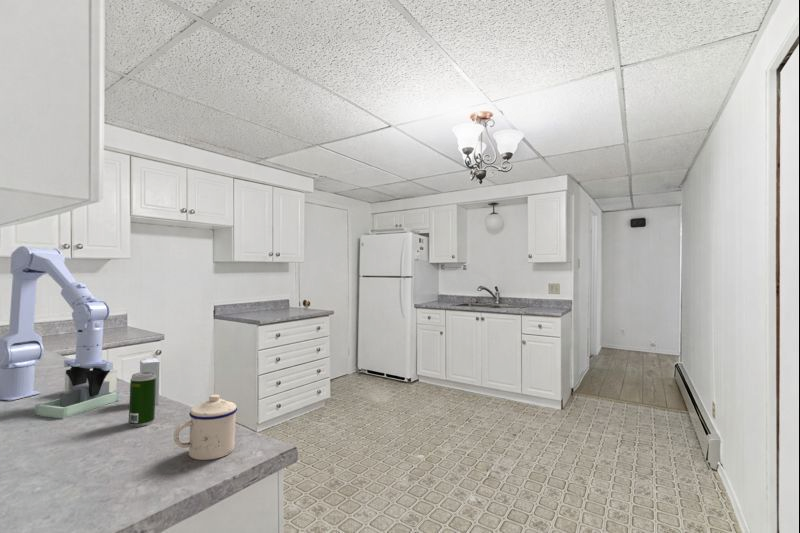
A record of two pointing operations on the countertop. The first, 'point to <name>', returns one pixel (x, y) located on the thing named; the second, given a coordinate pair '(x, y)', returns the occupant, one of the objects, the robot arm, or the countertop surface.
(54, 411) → the tray
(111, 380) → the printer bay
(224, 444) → the teacup with lid
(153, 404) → the beer can
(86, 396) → the grey bottle-shaped block
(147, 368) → the skincare box
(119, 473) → the countertop surface
